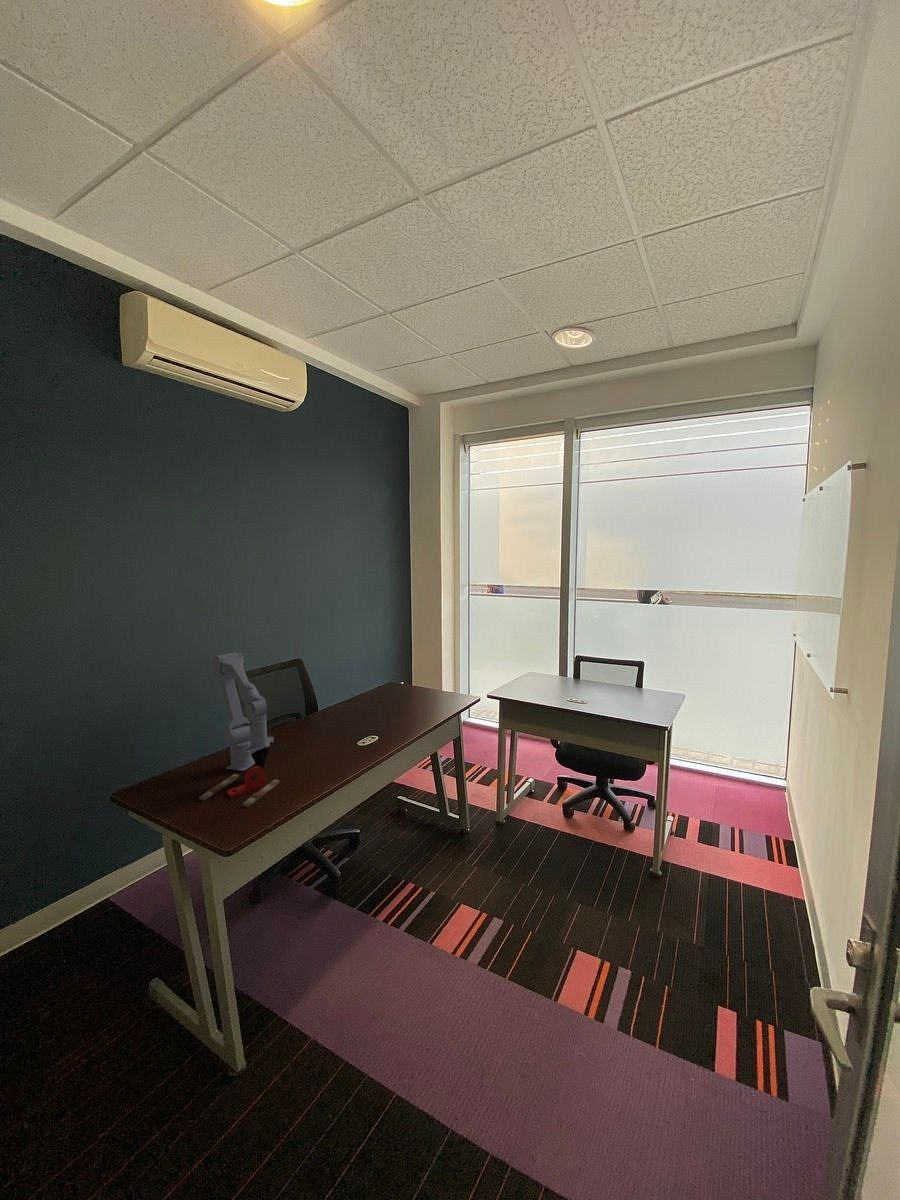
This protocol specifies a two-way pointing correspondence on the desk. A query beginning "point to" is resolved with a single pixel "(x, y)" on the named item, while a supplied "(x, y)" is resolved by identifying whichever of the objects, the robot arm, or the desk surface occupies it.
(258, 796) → the guide track
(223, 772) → the desk surface
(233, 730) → the robot arm
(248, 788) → the bracket
